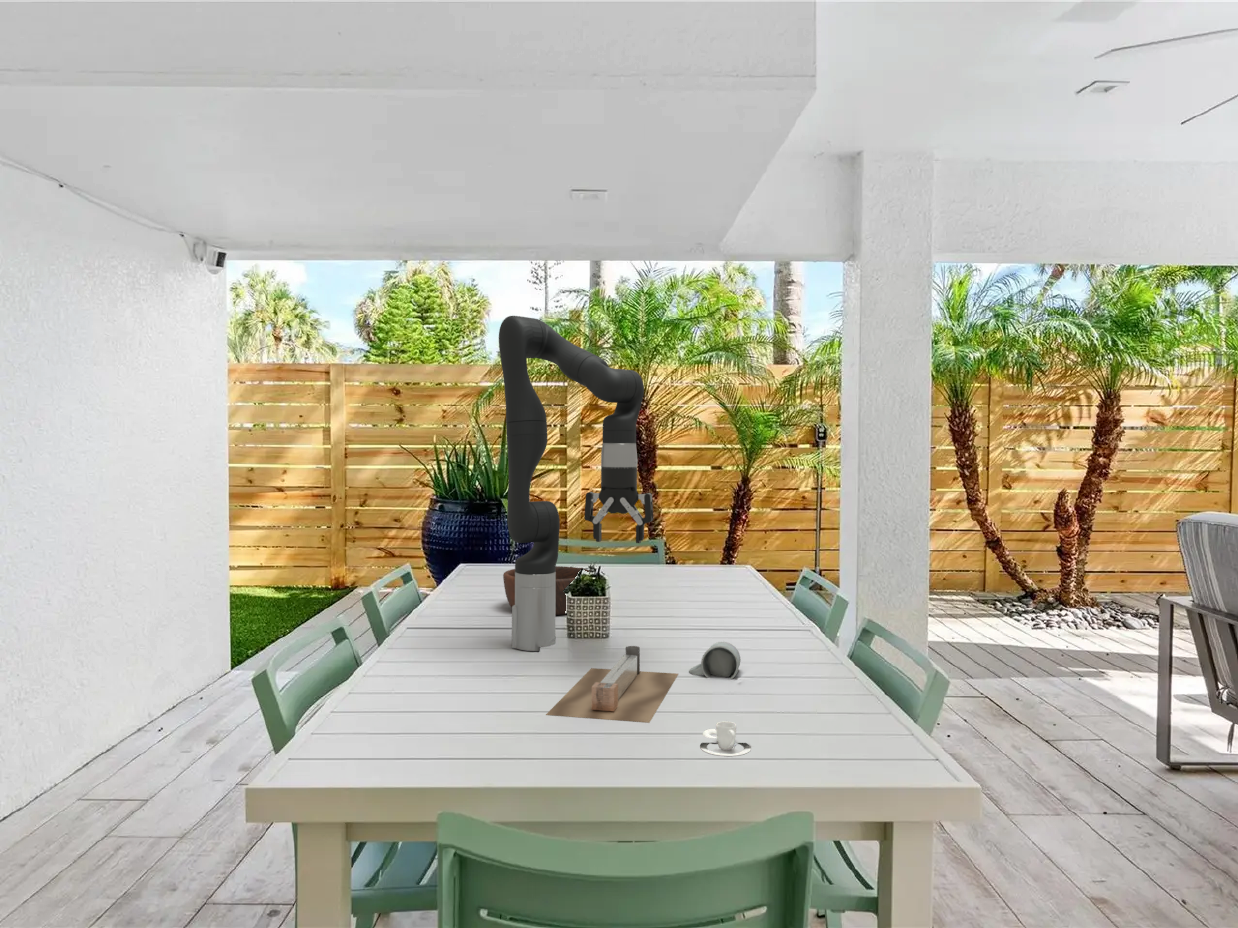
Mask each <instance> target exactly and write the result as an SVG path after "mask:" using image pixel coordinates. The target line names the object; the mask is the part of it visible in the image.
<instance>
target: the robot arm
mask: <svg viewBox="0 0 1238 928" xmlns="http://www.w3.org/2000/svg"><path fill="white" fill-rule="evenodd" d="M498 347H499V355H500V361H501V362H500V363H501V371H502V377H503V386H504V399H505V429H506V446H507V461H508V466H507V467H508V483H507V484H508V488H507V489H508V490H507V514H506V516H507V520H506V521H507V529H508V533H509V536H510V538H511V539H512V541H514V542H515V543H518V544H525V543H526V544H528V543H529V544H530V543H533V546H532V548H531V549H530V550H529V551H528V552H527V553H525V554H523V555H522V556H519V557H518V558H517V559H515V563H514V569H515V605H514V606H512V608H511V648H512V649H518V650H520V651H527V652H529V651H531V652H538V651H539V652H540V651H541V648H546V647H551V646H554V645H555V644H556V615H555V609H556V585H555V584H556V572H555V571H556V566H557V562H558V560H559V545H560V544H559V543H560V528H561V525H560V524H561V523H560V522H561V521H560V514H559V510H558V508H557V506H556V504H554V502H552V501H550V500H549V501H548V500H539V501H538V500H536V501H530V500H531V499H530V491H531V490H530V487H531V483H532V477H533V475H534V473H535V470H536V468H537V467H538V465H539V463H540V461H541V460H542V457H543V455H544V453H545V451H546V449H547V445H548V422H547V413H546V410H545V408H544V405H543V403H542V401H541V400H540V398H539V395H538V394H537V392H536V390H535V389H534V386H533V384H532V382H531V380H530V376H529V372H528V362H527V359H540V360H543V361H547V362H550V363H552V364H555V365H556V366H557V367H558V368H559V370H560V371H561V372H562V374H563V375H564V376H566V377H567V378H568V379H571V380H572V381H574V382H575V383H578V384H579V385H580V386H581V385H582V386H583V387H585V388H586V389H587V390H588V391H589V392H590V393H591V394H592V395H593V396H595V397H596V398H597V399H599V400H601V401H604V402H606V403H609V404H610V403H612V404H614V403H615V404H616V406H615V408H614V411H613V413H612V414H609V415H606V416H604V418H603V419H602V444H601V445H602V447H601V453H600V454H601V455H600V460H601V461H600V491H599V492H593V491H589V492H586V493H585V501H584V502H585V503H584V518H583V519H584V521H587V522H591V524H592V529H593V530H592V532H593V533H592V536H593V540H595V542H596V543H600V542H602V539H603V538H602V534H603V533H602V532H603V531H602V528H603V526H602V525H603V524H602V523H601V522H602V520H603V519H604V518H605V516H606V515H607V514H608V513H610V514H622V515H624V514H629V515H630V516H631V518H632V519H633V520H634V521H635V523H636V525H635V543H636V544H641V543H642V541H643V540H644V539H645V525H646V524H648V523H651V522H652V521H653V520H654V509H653V508H654V507H653V494H652V493H651V492H648V493H641V494H640V493H639V492H638V463H639V462H638V461H639V460H638V453H637V452H638V450H637V421H638V419H639V416H640V415H639V414H640V411H641V407H642V403H643V399H644V393H645V388H644V387H645V386H644V382H643V379H642V377H641V375H640V373H638V372H637V371H635V370H631V369H625V368H623V369H621V368H620V369H619V368H613V367H610V366H609V364H608V362H607V361H606V360H604V358H601V357H600V356H598V355H596V354H594V353H592V352H590V351H588V350H586V349H584V348H582V347H579V345H576V344H574V343H572V342H571V341H569V340H568V339H566V338H565V337H563V336H562V335H561V334H559V333H558V332H557V331H556V330H554V329H553V327H551V326H549V325H548V323H545V322H544V321H543V320H541V319H538V318H535V317H528V316H527V317H526V316H520V315H519V316H518V315H509V316H507V317H505V318H504V319H503V320H502V322H501V324H500V327H499V331H498ZM598 500H599V501H600V502H601V504H602V507H601V508H600V509H599V510H598V512H597V514H596V515H594V503H596V502H597V501H598ZM639 500H640V501H641V504H643V505H644V515H645V516H644V517H643V516H642V514H641V513H640V511H639V510H638V508H637V507H636V504H637V502H638V501H639Z"/></svg>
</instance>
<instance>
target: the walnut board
mask: <svg viewBox="0 0 1238 928" xmlns="http://www.w3.org/2000/svg"><path fill="white" fill-rule="evenodd" d="M640 651H641V648H640V647H639V646H636V645H628V646H626V647H625V655H630V656H631V655H637V676H636V677H635V679H634V680H633V681H632V683H631V684H630V685H629V686H628V688H627V689H626V690H625V692H624V693H623V694H622V696H621V697H620V698H619V699H618V707H617V708H616V709H615V711H602V710H592V686H593V685H594V684H595V683H596V682H598V683H600V682H601V681H602V680H603V679H604V678H605V676H606V675H607V674H608V673H609V672H610V671H611V669H612V668H611V669H609V668H593V667H591V668H590V669H589V670H588V671H587V672H586V673H585V674H584V675H583V676H582V677H581V678H580V679H579V680H578V681H577V682H576V683H575V684H574V685H572V687H571V688H570V689H569V691H568V692H567V693H566V694H564V696H563V697H562V698H561V699H559V701H557V703H556V704H554V706H552V708H551V709H550V710H549V711H548V712H547V713H546V714H545V716H553V717H566V718H579V719H590V720H591V719H593V720H606V721H620V722H632V723H635V722H636V723H645V724H646V723H648V724H650V722H651V721H652V719H653V718H654V716H655V714H656V712H657V711H658V709H659V707H660V706H661V704H662V703H663V701H664V700H665V697H666V696H667V694H668V692H669V691H670V689H671V688H672V686H673V684H674V682H675V681H676V679H677V677H678V676H679V673H672V672H660V671H659V672H657V671H642V670H640V667H641V666H640V661H641V660H640V659H641V657H640V655H641V653H640Z"/></svg>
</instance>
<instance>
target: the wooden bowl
mask: <svg viewBox="0 0 1238 928" xmlns="http://www.w3.org/2000/svg"><path fill="white" fill-rule="evenodd" d="M581 569H584V570H585V571H587V572H589V570H590V569H587V568H581V567H573V566H561V565H559V566H557V565H556V571H555V572H556V584H555V585H556V609H555V616H562V615H563V616H564V615H566V614H565V611H566V595H565V593H564V592H563V590H564V589H565V588H566V587H567V586H568V585H569V584H570V583H571V582H572V581H573V580H574V579H575V577H576V576H577V574H578V572H579V571H580V570H581ZM502 578H503V585H504V592H505V596H506V600H507V602H508V604H509V606H510V608H511V609H512V606H514V605H515V568H512V569H509V570H506V571H505V572H503V575H502Z"/></svg>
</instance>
